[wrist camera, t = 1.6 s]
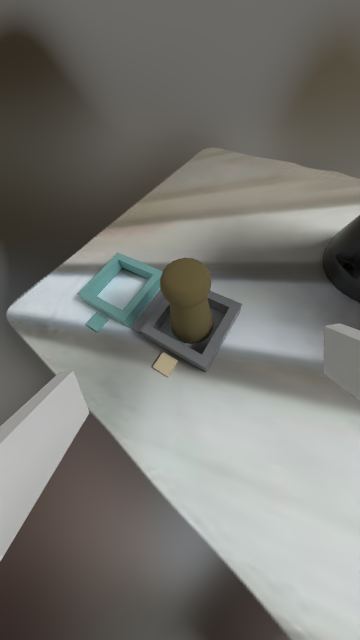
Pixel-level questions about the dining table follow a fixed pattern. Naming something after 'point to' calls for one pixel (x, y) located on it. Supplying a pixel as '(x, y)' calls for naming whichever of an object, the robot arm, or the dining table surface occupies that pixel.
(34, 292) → the dining table surface
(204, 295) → the cork
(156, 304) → the panel
